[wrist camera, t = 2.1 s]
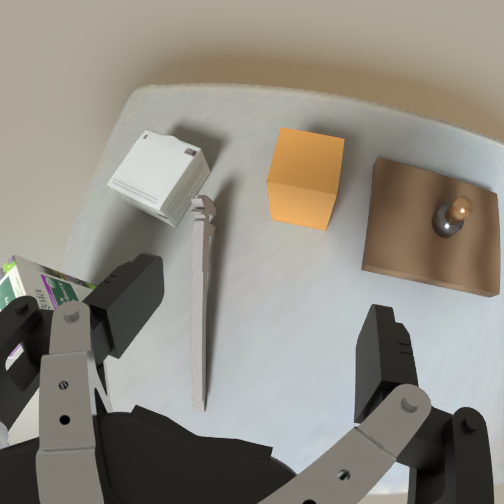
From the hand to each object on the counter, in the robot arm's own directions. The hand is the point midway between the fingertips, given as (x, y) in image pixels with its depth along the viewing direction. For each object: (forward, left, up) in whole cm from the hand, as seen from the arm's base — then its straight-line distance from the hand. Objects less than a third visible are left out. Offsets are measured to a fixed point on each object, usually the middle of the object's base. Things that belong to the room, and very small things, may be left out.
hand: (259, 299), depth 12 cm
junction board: (-15, -13, -18) cm, 27 cm away
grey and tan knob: (-15, -13, -16) cm, 26 cm away
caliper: (+7, 0, -19) cm, 20 cm away
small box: (+15, -12, -19) cm, 27 cm away
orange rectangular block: (0, -13, -18) cm, 23 cm away
